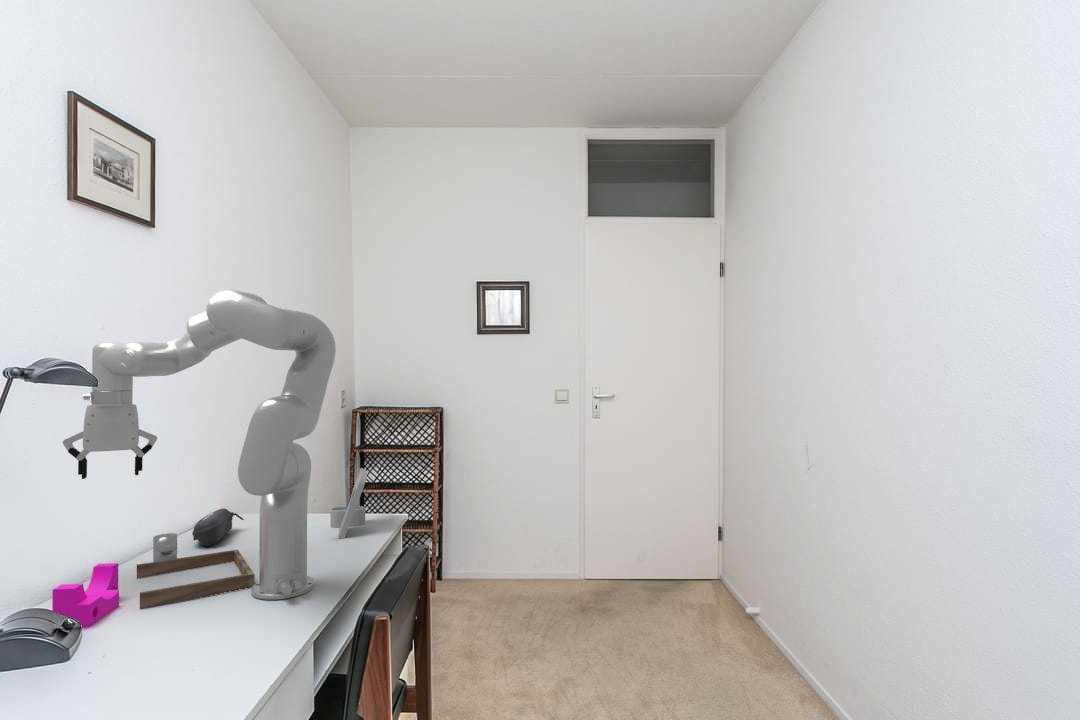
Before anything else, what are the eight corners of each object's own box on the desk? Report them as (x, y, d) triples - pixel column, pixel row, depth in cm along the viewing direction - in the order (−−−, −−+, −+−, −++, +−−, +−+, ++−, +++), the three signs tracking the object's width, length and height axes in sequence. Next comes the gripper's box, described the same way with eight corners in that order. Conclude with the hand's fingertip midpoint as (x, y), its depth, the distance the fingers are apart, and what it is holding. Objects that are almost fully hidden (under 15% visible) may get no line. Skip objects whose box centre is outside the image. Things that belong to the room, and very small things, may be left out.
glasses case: (205, 533, 181) (205, 506, 181) (245, 531, 183) (245, 505, 183) (184, 552, 163) (185, 522, 163) (229, 549, 166) (229, 520, 166)
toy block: (89, 628, 117) (89, 588, 117) (52, 630, 116) (52, 589, 116) (131, 598, 132) (131, 562, 132) (98, 599, 131) (99, 563, 131)
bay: (254, 588, 137) (254, 574, 137) (139, 609, 125) (139, 593, 126) (237, 561, 155) (237, 549, 156) (136, 577, 144) (136, 564, 144)
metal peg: (177, 565, 152) (178, 536, 152) (153, 569, 149) (153, 540, 149) (176, 560, 156) (176, 532, 156) (152, 564, 154) (152, 535, 154)
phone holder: (330, 528, 186) (330, 468, 186) (365, 526, 189) (365, 466, 189) (328, 545, 170) (328, 478, 170) (367, 542, 173) (367, 476, 173)
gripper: (61, 400, 132) (60, 482, 132) (158, 399, 141) (156, 475, 141) (65, 398, 138) (64, 476, 138) (157, 397, 147) (156, 470, 147)
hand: (110, 476), depth 140 cm, fingers open, 9 cm apart
